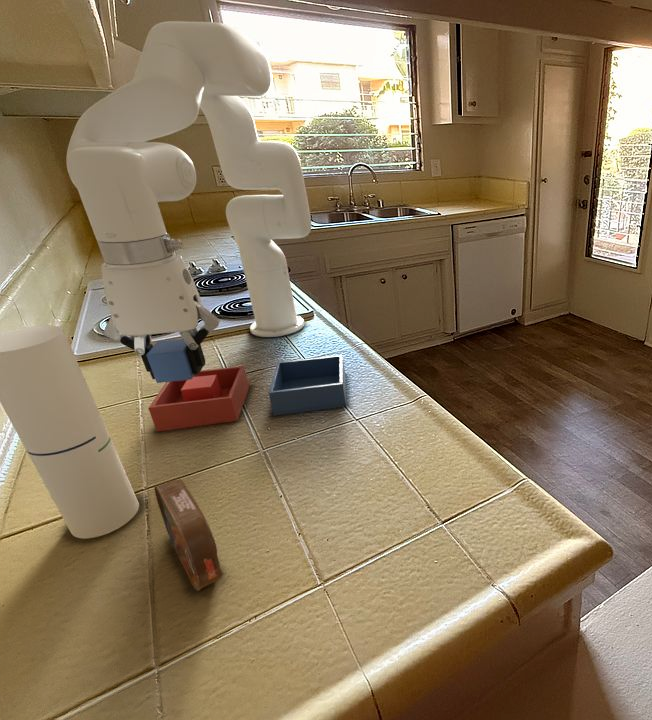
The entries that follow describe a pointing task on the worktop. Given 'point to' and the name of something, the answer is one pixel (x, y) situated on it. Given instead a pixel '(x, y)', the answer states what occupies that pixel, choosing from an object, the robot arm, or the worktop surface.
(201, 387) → the red block
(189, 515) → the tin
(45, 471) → the cylindrical container
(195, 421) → the red bin
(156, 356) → the blue block
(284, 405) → the blue bin
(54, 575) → the worktop surface
